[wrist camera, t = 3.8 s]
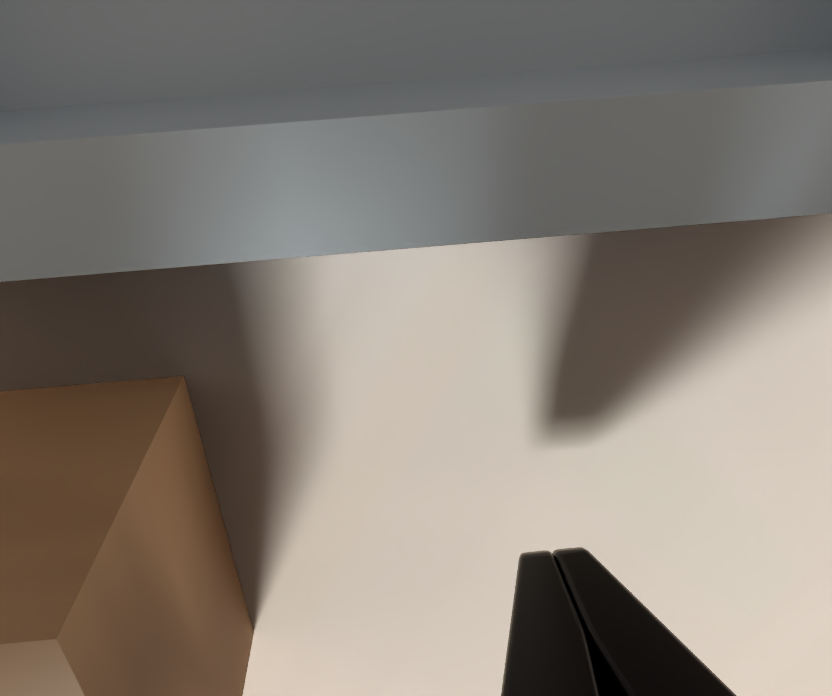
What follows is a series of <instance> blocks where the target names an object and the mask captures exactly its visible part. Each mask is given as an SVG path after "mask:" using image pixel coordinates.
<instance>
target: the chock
mask: <svg viewBox="0 0 832 696" xmlns="http://www.w3.org/2000/svg"><path fill="white" fill-rule="evenodd" d="M253 633H254V632H253V628H252V624H251V621H250V617H249V613H248V610H247V606H246V602H245V599H244V595H243V591H242V588H241V584H240V580H239V577H238V573H237V569H236V566H235V562H234V558H233V555H232V551H231V547H230V544H229V540H228V536H227V533H226V529H225V525H224V522H223V518H222V514H221V510H220V507H219V503H218V499H217V496H216V492H215V488H214V485H213V481H212V477H211V474H210V470H209V466H208V463H207V459H206V455H205V452H204V448H203V444H202V441H201V437H200V433H199V430H198V426H197V422H196V419H195V415H194V411H193V408H192V404H191V400H190V397H189V393H188V389H187V385H186V382H185V378H184V376H177V377H165V378H153V379H141V380H129V381H117V382H105V383H93V384H81V385H69V386H57V387H45V388H33V389H21V390H9V391H0V696H242V694H243V689H244V683H245V678H246V672H247V667H248V661H249V656H250V650H251V644H252V639H253Z"/></svg>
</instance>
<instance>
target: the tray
mask: <svg viewBox="0 0 832 696" xmlns="http://www.w3.org/2000/svg"><path fill="white" fill-rule="evenodd" d="M831 213H832V0H0V282H5V281H17V280H30V279H42V278H54V277H66V276H78V275H90V274H102V273H115V272H127V271H139V270H151V269H163V268H175V267H187V266H200V265H212V264H224V263H236V262H248V261H260V260H272V259H285V258H297V257H309V256H321V255H333V254H345V253H357V252H370V251H382V250H394V249H406V248H418V247H430V246H442V245H455V244H467V243H479V242H491V241H503V240H515V239H527V238H540V237H552V236H564V235H576V234H588V233H600V232H612V231H625V230H637V229H649V228H661V227H673V226H685V225H697V224H710V223H722V222H734V221H746V220H758V219H770V218H782V217H795V216H807V215H819V214H831Z"/></svg>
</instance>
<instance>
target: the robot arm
mask: <svg viewBox="0 0 832 696" xmlns="http://www.w3.org/2000/svg"><path fill="white" fill-rule="evenodd" d="M501 696H736V695H735V694H734V693H733V692H732V691H731V690H730V689H729V688H728V687H727V686H726V685H725V684H724V683H723V682H722V681H721V680H720V679H719V678H718V677H717V676H716V675H715V674H714V673H713V672H712V671H711V670H710V669H709V668H708V667H707V666H706V665H705V664H704V663H703V662H701V661H700V660H699V659H698V658H697V657H696V656H695V655H694V654H693V653H692V652H691V651H690V650H689V649H688V648H687V647H686V646H685V645H684V644H683V643H682V642H681V641H680V640H679V639H678V638H677V637H676V636H675V635H674V634H673V633H672V632H671V631H670V630H669V629H668V628H667V627H666V626H665V625H664V624H663V623H661V622H660V621H659V620H658V619H657V618H656V617H655V616H654V615H653V614H652V613H651V612H650V611H649V610H648V609H647V608H646V607H645V606H644V605H643V604H642V603H641V602H640V601H639V600H638V599H637V598H636V597H635V596H634V595H633V594H632V593H631V592H630V591H629V590H628V589H627V588H626V587H625V586H624V585H623V584H622V583H620V582H619V581H618V580H617V579H616V578H615V577H614V576H613V575H612V574H611V573H610V572H609V571H608V570H607V569H606V568H605V567H604V566H603V565H602V564H601V563H600V562H599V561H598V560H597V559H596V558H595V557H594V556H593V555H592V554H591V553H590V552H589V551H587V550H586V549H584V548H580V547H578V548H567V549H557V550H555V551H554V552H553V553H551V552H549V551H536V552H526V553H522V554H521V555H520V558H519V563H518V571H517V579H516V586H515V594H514V602H513V609H512V617H511V624H510V632H509V640H508V647H507V655H506V663H505V670H504V678H503V685H502V693H501Z"/></svg>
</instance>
